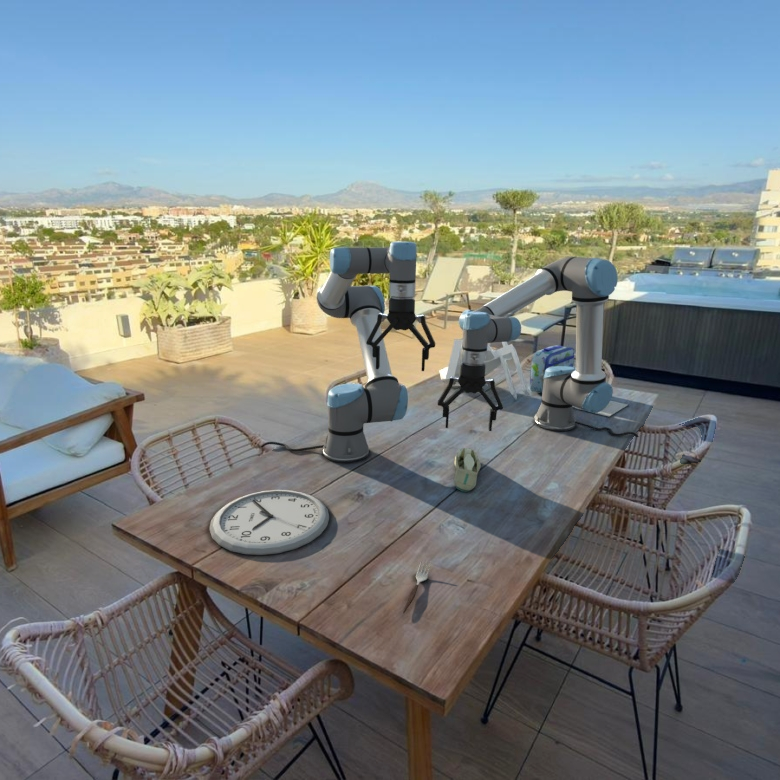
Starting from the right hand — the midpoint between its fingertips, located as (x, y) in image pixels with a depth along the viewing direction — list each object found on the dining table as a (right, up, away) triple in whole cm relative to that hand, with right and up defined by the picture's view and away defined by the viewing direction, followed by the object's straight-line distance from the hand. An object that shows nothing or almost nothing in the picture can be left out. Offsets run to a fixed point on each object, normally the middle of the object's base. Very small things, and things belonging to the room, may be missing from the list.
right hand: (468, 428), depth 166 cm
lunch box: (+51, +12, +82) cm, 98 cm away
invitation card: (+67, +5, +60) cm, 90 cm away
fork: (-20, -30, -56) cm, 67 cm away
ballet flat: (-1, -14, -4) cm, 15 cm away
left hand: (-22, +18, -10) cm, 30 cm away
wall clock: (-56, -22, -31) cm, 67 cm away
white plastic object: (+17, +11, +77) cm, 80 cm away
